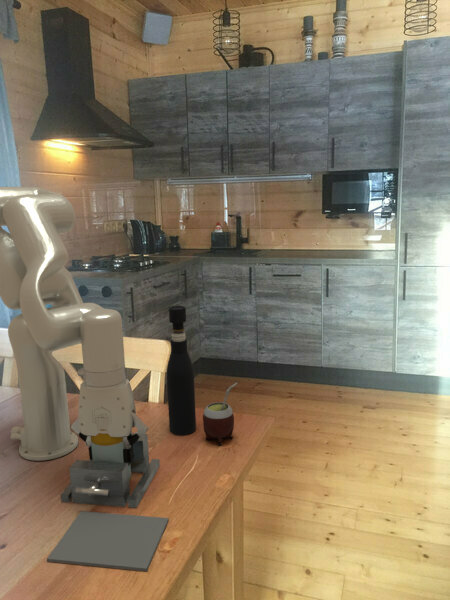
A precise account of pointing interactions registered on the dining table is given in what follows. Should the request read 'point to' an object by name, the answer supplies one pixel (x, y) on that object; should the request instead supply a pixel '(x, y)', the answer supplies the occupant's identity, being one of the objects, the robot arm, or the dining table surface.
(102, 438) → the bottle
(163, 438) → the dining table surface
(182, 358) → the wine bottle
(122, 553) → the mat
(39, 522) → the dining table surface
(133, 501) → the vise
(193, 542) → the dining table surface
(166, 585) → the dining table surface
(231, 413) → the mate gourd
